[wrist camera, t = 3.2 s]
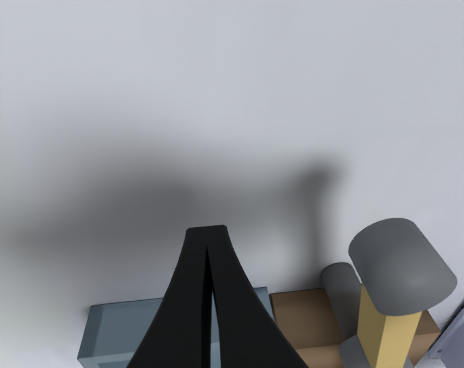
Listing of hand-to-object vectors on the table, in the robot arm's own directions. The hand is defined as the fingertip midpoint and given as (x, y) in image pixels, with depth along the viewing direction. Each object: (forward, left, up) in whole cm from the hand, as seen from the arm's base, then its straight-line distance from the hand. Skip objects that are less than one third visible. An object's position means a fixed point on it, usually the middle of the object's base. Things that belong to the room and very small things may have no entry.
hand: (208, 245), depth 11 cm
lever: (-8, -7, +1) cm, 11 cm away
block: (-13, -8, -3) cm, 15 cm away
